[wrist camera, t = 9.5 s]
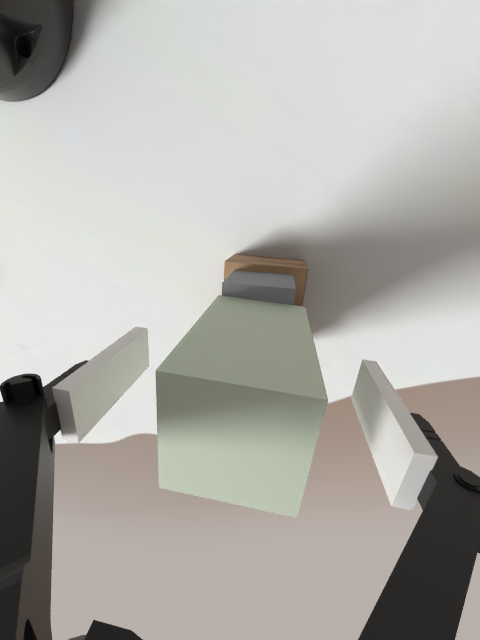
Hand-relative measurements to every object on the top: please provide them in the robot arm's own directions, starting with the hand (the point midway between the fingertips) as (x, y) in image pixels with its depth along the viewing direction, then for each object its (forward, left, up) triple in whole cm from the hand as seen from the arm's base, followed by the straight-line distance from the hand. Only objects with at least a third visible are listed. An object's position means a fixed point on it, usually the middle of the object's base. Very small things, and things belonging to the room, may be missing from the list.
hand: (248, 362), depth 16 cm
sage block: (0, 0, -3) cm, 3 cm away
